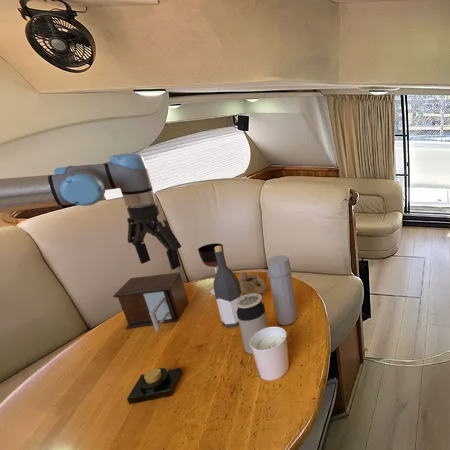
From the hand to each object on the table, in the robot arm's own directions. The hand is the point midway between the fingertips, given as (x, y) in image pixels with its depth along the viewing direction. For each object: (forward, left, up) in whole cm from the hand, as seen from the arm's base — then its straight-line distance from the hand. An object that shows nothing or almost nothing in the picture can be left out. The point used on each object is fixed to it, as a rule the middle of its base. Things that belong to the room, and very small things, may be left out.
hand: (160, 264), depth 105 cm
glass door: (-5, -3, -23) cm, 23 cm away
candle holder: (+35, -32, -24) cm, 54 cm away
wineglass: (+9, +20, -24) cm, 32 cm away
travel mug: (+29, -20, -24) cm, 43 cm away
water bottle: (+37, -8, -24) cm, 45 cm away
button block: (+4, -30, -24) cm, 39 cm away
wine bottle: (+19, -4, -24) cm, 31 cm away
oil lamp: (+23, +14, -24) cm, 36 cm away
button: (+5, -31, -20) cm, 37 cm away
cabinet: (-9, +8, -24) cm, 26 cm away
